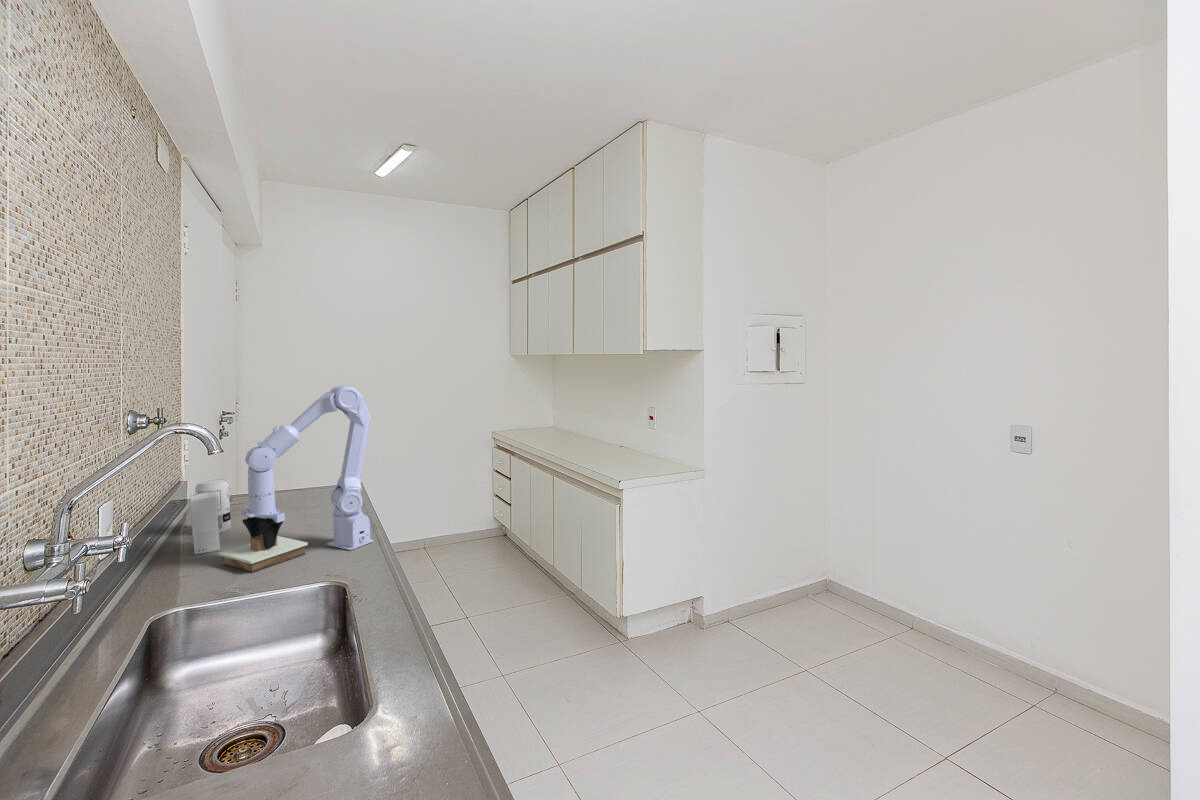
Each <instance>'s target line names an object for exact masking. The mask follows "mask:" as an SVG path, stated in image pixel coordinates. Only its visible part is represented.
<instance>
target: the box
mask: <svg viewBox="0 0 1200 800" xmlns="http://www.w3.org/2000/svg"><path fill="white" fill-rule="evenodd" d="M305 555H306V546H303V547H300V548H297V549H294V550H291V551H288V552H285V553H282V554H279V555H276V556H273V557H270V558H267V559H264V560H261V561H258V562H255V563H252V564H250V563H246V562H242V561H238V560H235V559H231V558H227V557H223V556H221V560H222V561H221V562H222V565H223V566H227V567H230V568H234V569H237V570H240V571H244V572H247V573H251V574H253V573H254V574H255V573H257V572H259V571H262V570H265V569H267V568H271V567H274V566H276V565H279V564H282V563H284V562H288V561H291V560H294V559H295V558H299V557H302V556H305Z"/></svg>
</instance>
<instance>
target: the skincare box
mask: <svg viewBox="0 0 1200 800" xmlns="http://www.w3.org/2000/svg"><path fill="white" fill-rule="evenodd" d="M189 498H190V500H189V506H190V521H191V523H190V524H191V525H190V526H191V535H192V543H193V544H192V545H193V551H194V552H193V553H194V555H200V554H204V553H215V552H219V551H221V542H220V533H219V530H218V516H217V502H216V493H215V492H209V493H202V494H196V493H195V494H191V495H190V497H189Z"/></svg>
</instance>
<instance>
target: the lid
mask: <svg viewBox="0 0 1200 800" xmlns="http://www.w3.org/2000/svg"><path fill="white" fill-rule="evenodd" d="M249 540H250V542H249V543H247V544H244V545H240V546H237V547H235V548H234V547H233V548H230V549H228V550H224V551H221V552H218V556H221V557H222V556H223V557H227V558H231V559H235V560H238V561H242V562H246V563H250V564H252V563H255V562H258V561H261V560H264V559H267V558H270V557H273V556H276V555H279V554H282V553H285V552H288V551H291V550H294V549H297V548H300V547H303V546H305V547H306V546H308V545H309V543H308V542H307V541H302V540H298V539H294V538H288V537H284V536H280V535H277V538H276V542H275V546H273V547H270V548H265V546H264V540H263V535H260V536H256V537H253V538H251V537H250V539H249Z"/></svg>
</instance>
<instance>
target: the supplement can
mask: <svg viewBox="0 0 1200 800" xmlns="http://www.w3.org/2000/svg"><path fill="white" fill-rule="evenodd" d="M194 489H195V490H194V491H195V494H202V493H209V492H215V493H216V502H217V516H218V530H219V534H221V532H222V533H225V532H227V531H229V530H230V528H231V527H232V519H231V517H232V516H231V503H230V502H231V501H230V485H229V483H228V482H227V479H224V478H214V479H206V480H201V481H198V482H197V484H196V487H195V488H194ZM228 529H229V530H228Z"/></svg>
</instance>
